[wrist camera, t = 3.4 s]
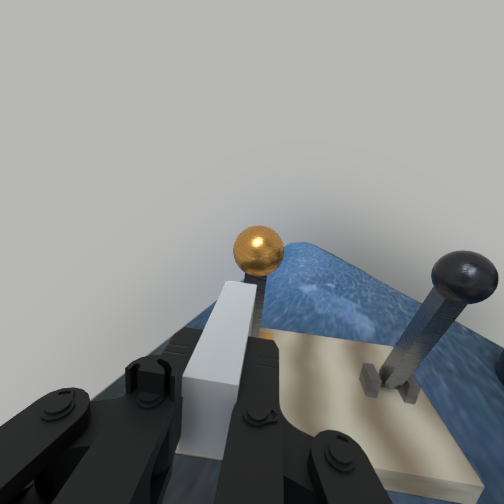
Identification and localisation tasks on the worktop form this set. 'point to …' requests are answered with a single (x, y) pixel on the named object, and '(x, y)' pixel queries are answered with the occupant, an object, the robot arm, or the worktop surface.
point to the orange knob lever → (258, 263)
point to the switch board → (371, 414)
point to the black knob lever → (439, 311)
